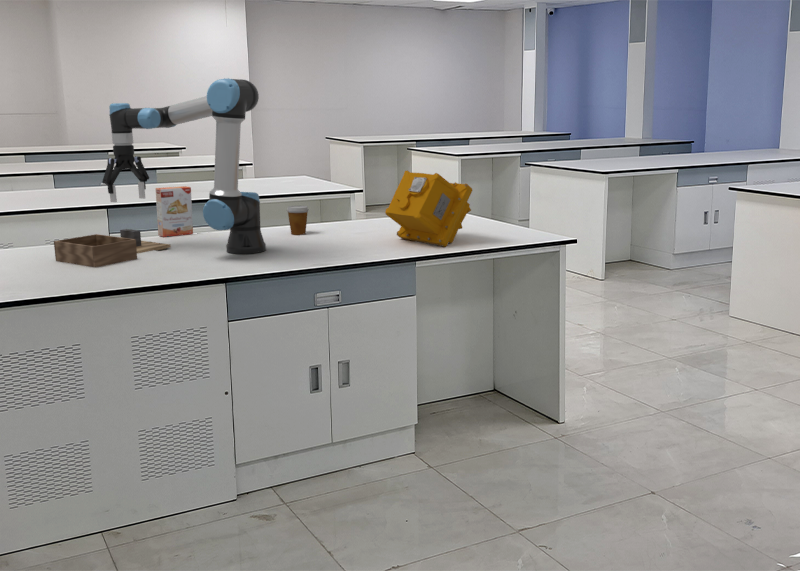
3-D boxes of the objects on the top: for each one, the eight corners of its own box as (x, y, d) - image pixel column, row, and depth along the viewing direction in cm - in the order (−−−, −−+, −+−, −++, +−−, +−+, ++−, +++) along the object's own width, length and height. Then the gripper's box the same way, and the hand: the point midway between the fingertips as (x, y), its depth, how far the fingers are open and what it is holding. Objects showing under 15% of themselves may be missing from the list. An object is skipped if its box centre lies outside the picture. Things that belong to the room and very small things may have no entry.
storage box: (137, 260, 284) (135, 239, 282) (95, 269, 269) (93, 246, 267) (98, 255, 295) (96, 234, 293) (55, 263, 280) (53, 241, 279)
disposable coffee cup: (313, 233, 344) (312, 206, 341) (299, 236, 336) (299, 208, 333) (297, 231, 349) (296, 204, 346) (283, 234, 341) (282, 207, 338)
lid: (170, 249, 308) (169, 229, 306) (132, 257, 292) (130, 236, 290) (131, 244, 320) (129, 224, 318) (92, 251, 304) (90, 231, 302)
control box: (458, 257, 316) (413, 222, 297) (413, 248, 336) (368, 215, 317) (485, 198, 321) (442, 160, 301) (439, 193, 341) (396, 157, 321)
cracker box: (163, 237, 334) (160, 188, 329) (158, 235, 338) (154, 187, 333) (194, 234, 342) (191, 186, 338) (188, 232, 347) (185, 185, 342)
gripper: (142, 143, 309) (147, 196, 314) (88, 146, 288) (94, 203, 293) (155, 143, 305) (160, 197, 310) (102, 146, 284) (107, 204, 289)
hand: (128, 200), depth 301 cm, fingers open, 13 cm apart
